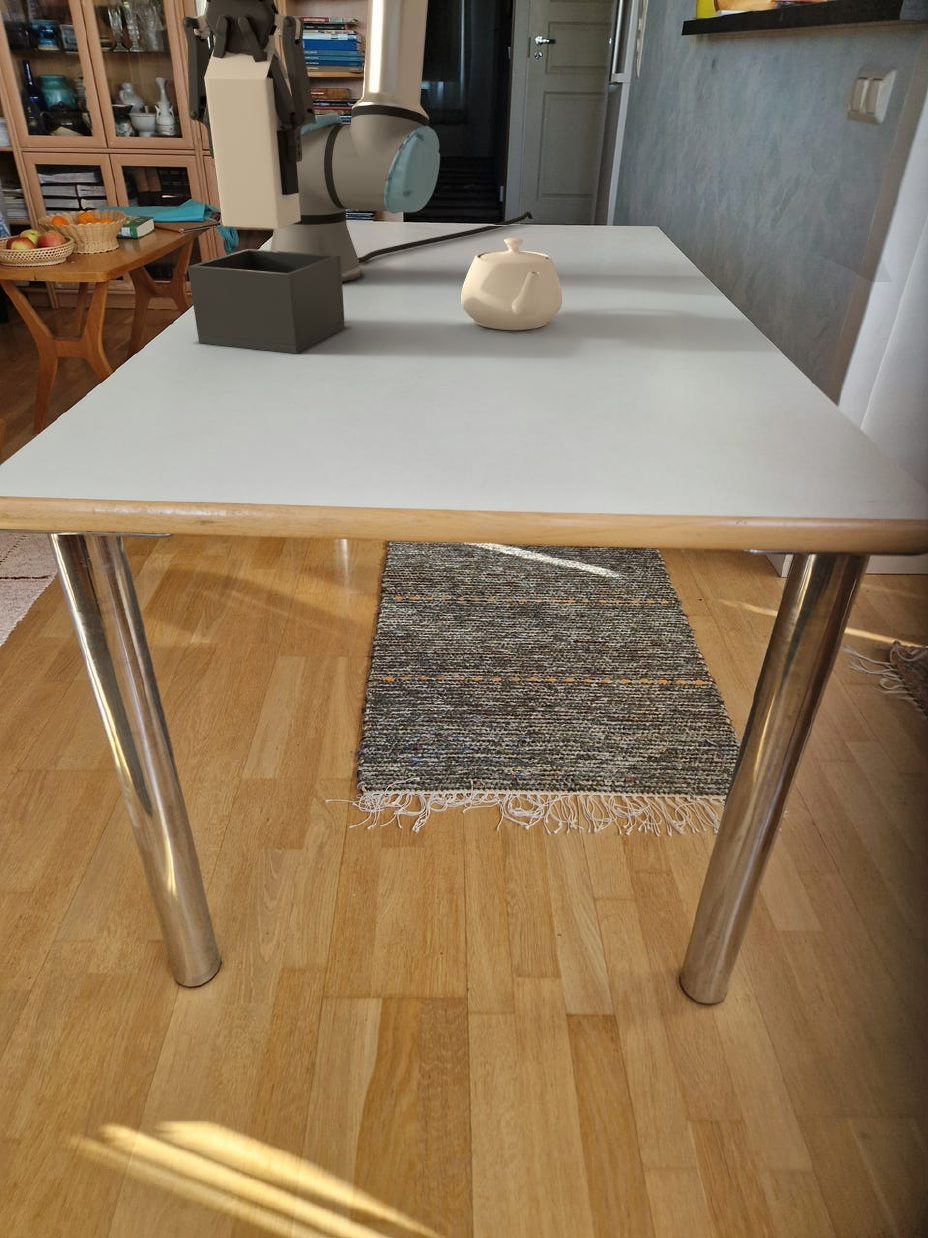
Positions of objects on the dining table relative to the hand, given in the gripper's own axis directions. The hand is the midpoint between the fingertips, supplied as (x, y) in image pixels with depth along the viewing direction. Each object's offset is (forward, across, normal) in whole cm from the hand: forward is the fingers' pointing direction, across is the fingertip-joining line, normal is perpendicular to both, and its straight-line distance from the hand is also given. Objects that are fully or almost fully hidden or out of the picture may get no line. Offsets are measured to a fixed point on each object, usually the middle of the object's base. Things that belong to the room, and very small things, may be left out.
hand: (259, 191), depth 102 cm
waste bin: (+17, 0, 0) cm, 17 cm away
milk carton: (+4, 0, 0) cm, 4 cm away
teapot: (+17, +27, +17) cm, 36 cm away
